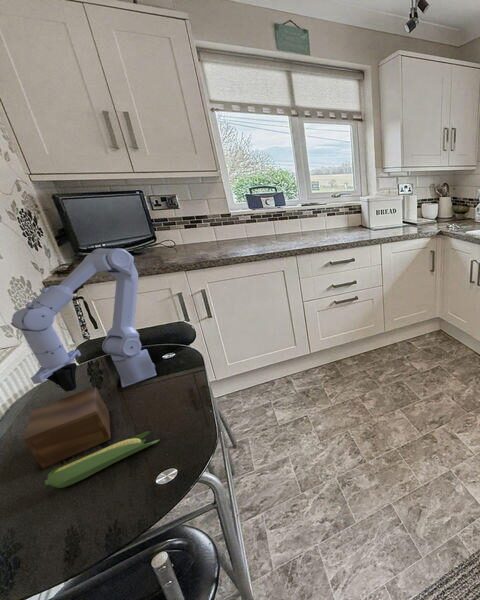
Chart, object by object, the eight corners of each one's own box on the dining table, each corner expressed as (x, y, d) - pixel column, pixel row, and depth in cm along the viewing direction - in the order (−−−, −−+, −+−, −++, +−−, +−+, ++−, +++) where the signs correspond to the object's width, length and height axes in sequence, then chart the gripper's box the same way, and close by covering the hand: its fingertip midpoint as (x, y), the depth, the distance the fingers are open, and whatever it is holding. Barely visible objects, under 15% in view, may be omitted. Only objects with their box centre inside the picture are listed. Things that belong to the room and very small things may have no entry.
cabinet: (48, 436, 87) (32, 409, 84) (109, 412, 95) (95, 386, 91) (42, 469, 77) (23, 439, 73) (110, 439, 84) (96, 411, 81)
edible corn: (53, 483, 72) (43, 468, 71) (160, 435, 84) (153, 421, 82) (50, 499, 69) (40, 483, 67) (162, 446, 80) (155, 432, 79)
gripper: (43, 360, 84) (68, 402, 89) (83, 334, 97) (102, 373, 102) (12, 365, 83) (38, 408, 88) (56, 338, 96) (77, 377, 101)
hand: (71, 389), depth 95 cm, fingers closed
